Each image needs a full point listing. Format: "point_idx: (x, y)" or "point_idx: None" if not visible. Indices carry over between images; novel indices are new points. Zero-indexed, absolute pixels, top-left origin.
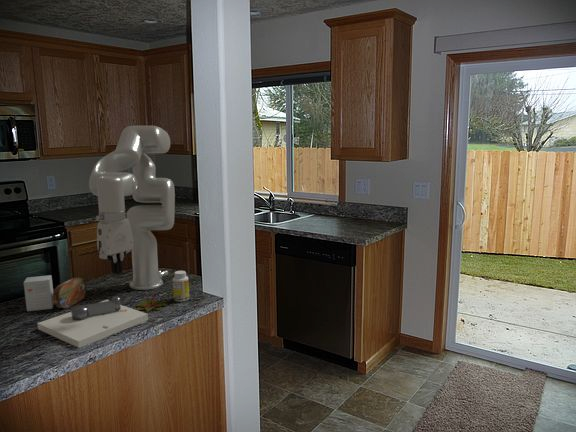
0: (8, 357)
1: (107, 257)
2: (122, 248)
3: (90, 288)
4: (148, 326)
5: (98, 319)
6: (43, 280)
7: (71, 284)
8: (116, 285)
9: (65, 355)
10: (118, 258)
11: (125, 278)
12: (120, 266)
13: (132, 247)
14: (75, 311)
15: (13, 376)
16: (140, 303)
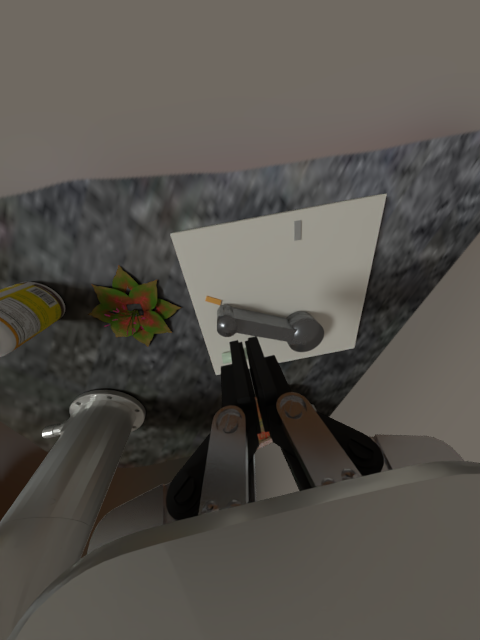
0: (449, 263)
1: (375, 451)
2: (270, 620)
3: (205, 434)
4: (190, 183)
5: (280, 291)
6: None
7: (260, 434)
8: (164, 429)
9: (413, 178)
10: (250, 435)
11: (140, 445)
12: (244, 367)
13: (33, 607)
14: (321, 326)
15: None
16: (156, 332)
